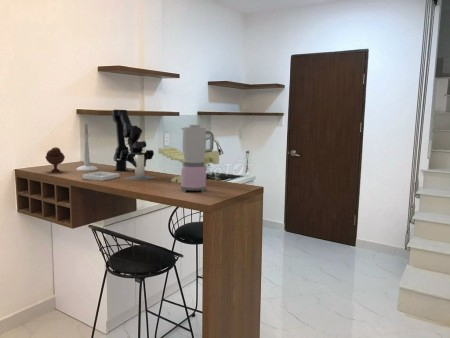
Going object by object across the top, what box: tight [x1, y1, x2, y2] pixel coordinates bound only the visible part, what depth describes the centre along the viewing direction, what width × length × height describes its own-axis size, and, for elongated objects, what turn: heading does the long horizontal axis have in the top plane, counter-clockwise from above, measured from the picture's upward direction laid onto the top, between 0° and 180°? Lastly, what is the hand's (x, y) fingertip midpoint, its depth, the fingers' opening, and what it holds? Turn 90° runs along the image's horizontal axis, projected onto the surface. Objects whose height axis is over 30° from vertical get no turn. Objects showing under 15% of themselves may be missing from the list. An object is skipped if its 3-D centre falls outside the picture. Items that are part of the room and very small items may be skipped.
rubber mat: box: [122, 175, 157, 181], centre depth 210 cm, size 14×14×1 cm
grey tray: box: [81, 171, 120, 182], centre depth 206 cm, size 14×14×2 cm
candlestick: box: [76, 123, 98, 172], centre depth 236 cm, size 13×13×30 cm
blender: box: [180, 124, 215, 193], centre depth 179 cm, size 16×12×32 cm
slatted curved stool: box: [157, 146, 220, 184], centre depth 206 cm, size 30×16×18 cm, turn 61°
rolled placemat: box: [134, 155, 145, 178], centre depth 209 cm, size 5×5×13 cm
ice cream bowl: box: [45, 147, 66, 173], centre depth 226 cm, size 11×11×15 cm
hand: (140, 166), depth 208 cm, fingers closed on rolled placemat, 5 cm apart
